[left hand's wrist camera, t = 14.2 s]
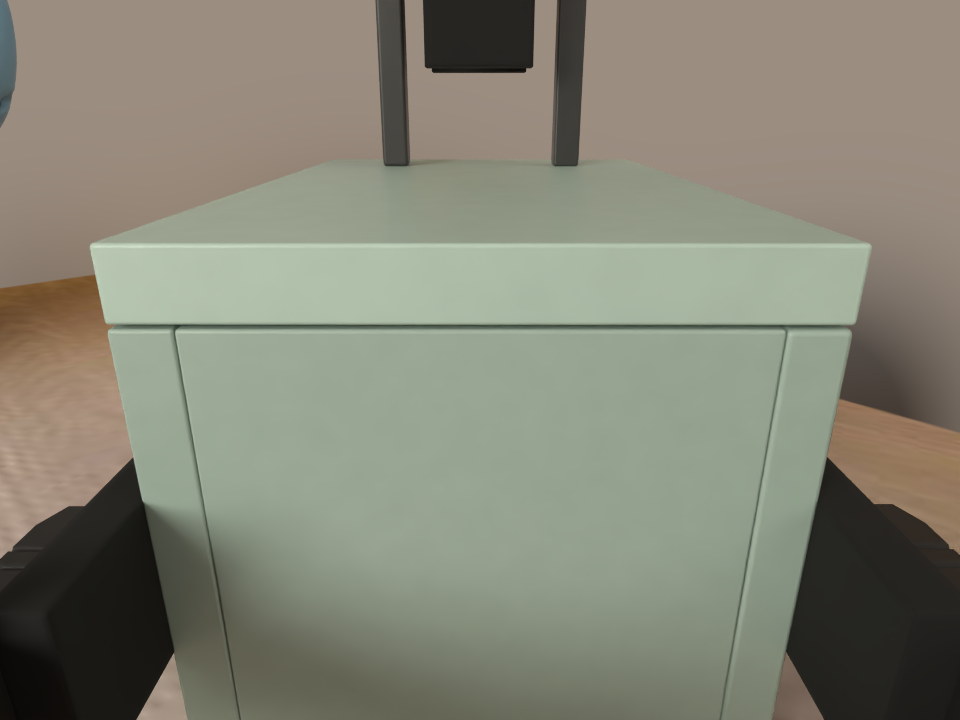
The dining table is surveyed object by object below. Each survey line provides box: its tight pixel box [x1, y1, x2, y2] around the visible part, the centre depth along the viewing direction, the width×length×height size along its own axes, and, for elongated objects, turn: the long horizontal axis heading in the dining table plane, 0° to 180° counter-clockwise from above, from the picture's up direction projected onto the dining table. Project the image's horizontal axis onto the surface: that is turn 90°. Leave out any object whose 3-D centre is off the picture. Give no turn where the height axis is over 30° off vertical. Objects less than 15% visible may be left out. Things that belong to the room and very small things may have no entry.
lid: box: [90, 0, 872, 325], centre depth 13 cm, size 14×10×9 cm
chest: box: [108, 325, 852, 720], centre depth 16 cm, size 13×10×11 cm
